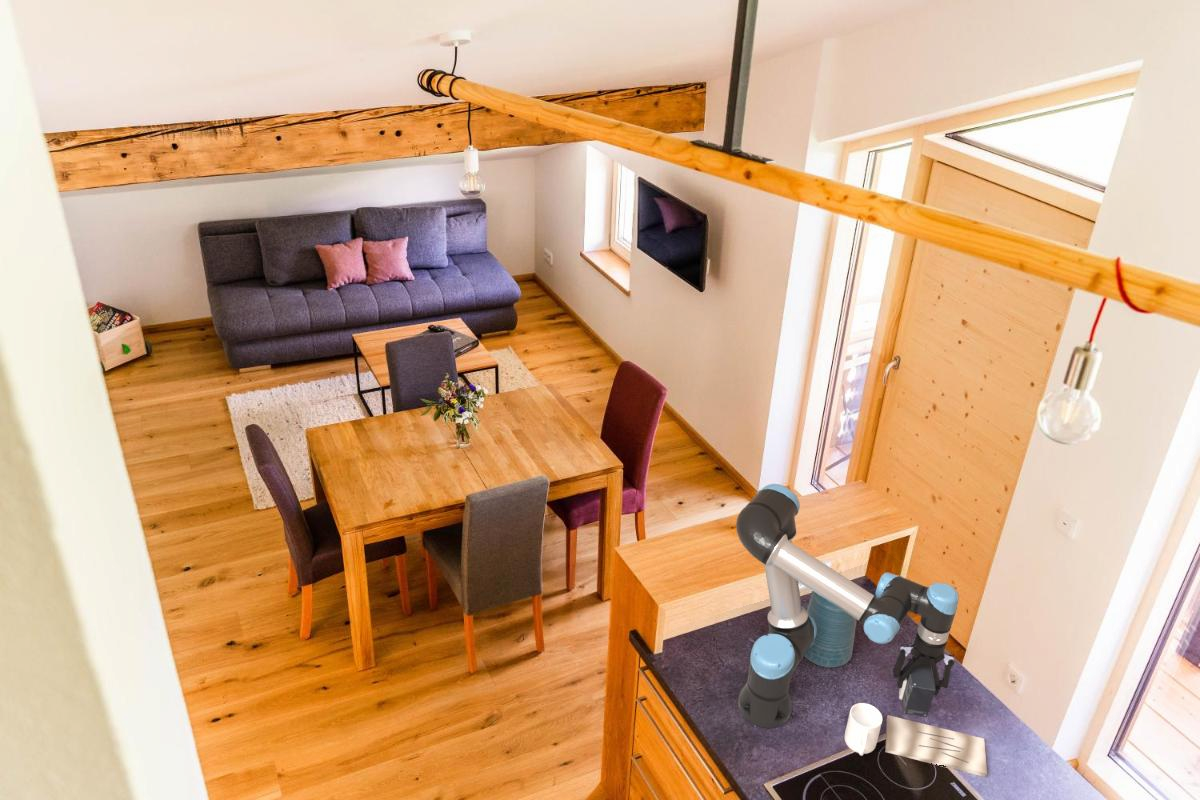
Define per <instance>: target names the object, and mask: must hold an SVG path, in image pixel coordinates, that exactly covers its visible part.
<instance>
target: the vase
mask: <svg viewBox="0 0 1200 800" xmlns="http://www.w3.org/2000/svg"><path fill="white" fill-rule="evenodd" d="M810 594H811V595H810V597H809V598H810V599H809V602H808V604H807V608H806V610H807V612H808V613H809V614H810V615H809V616H810V617H813V619H814V621H815V623H816V627H817V633H816V637H815V639H814V642H813V644H812V646H811V647H810V648H809V649H808V651H807V652H806V654H805V655H804V657H805V658H806V659H807V660H808V661H809V662H811V663H813V664H815V665H817V666H820V667H824V668H837V667H842V666H844V665H846V664H848V662H849V661H850V660H851V659H852V655H853V651H854V650H853V649H854V643H855V637H856V636H855V635H856V626H857V621H858V620H857V619H855V618H854V617H852V616H851V615H849V614H848V613H846V612H844V611H843V610H841V609H840V608H838V607H837V606H835V605H834V604H832V603H831V602H829V601H827V600H826V599H824V598H823V597H821V596H820V595H818V594H817V593H815V592H814V591H812V590H811V593H810Z"/></svg>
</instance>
